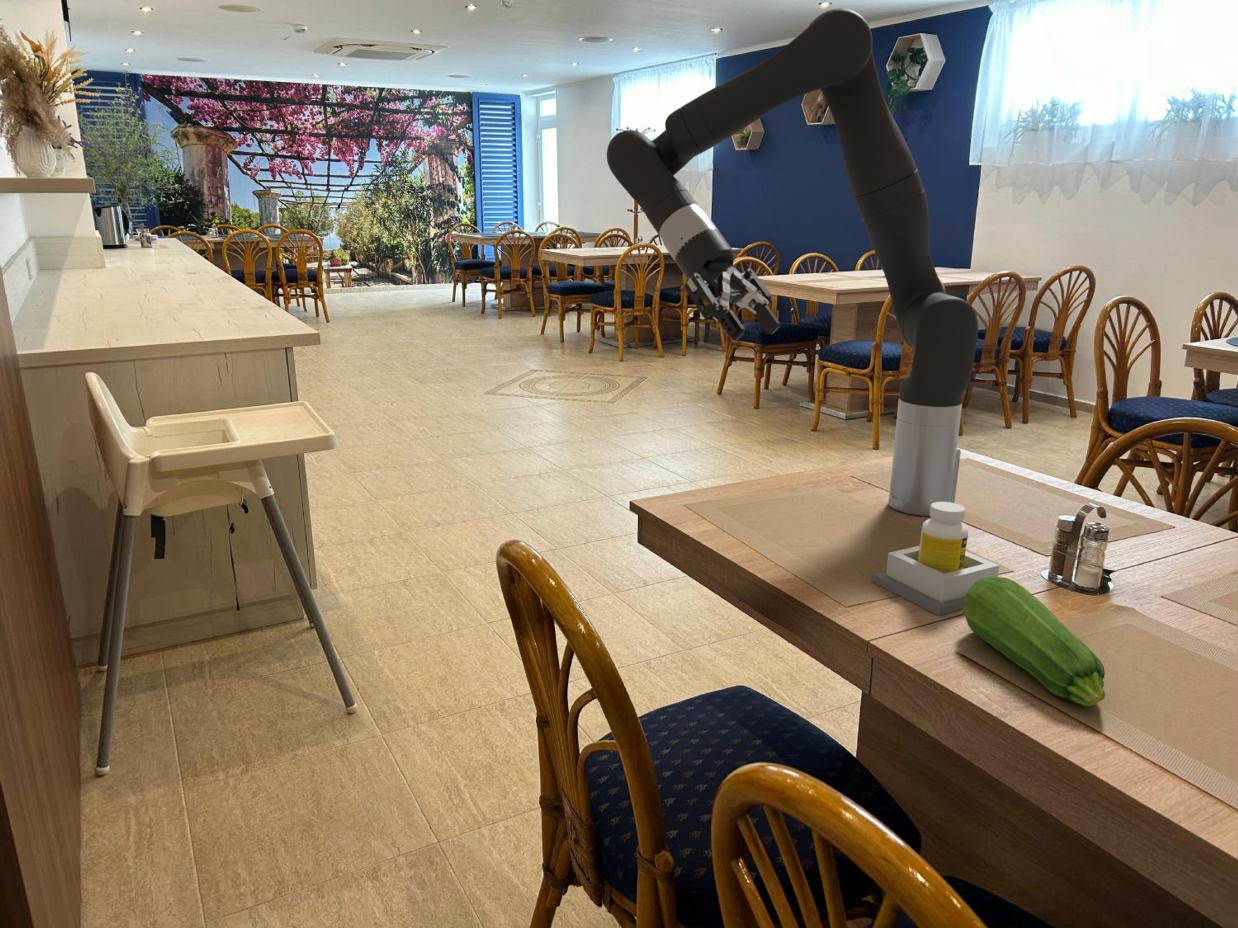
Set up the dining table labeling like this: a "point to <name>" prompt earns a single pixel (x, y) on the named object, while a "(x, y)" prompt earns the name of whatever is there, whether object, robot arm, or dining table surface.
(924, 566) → the board
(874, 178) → the robot arm
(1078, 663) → the vegetable
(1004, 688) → the dining table surface
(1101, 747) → the dining table surface
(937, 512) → the supplement bottle
